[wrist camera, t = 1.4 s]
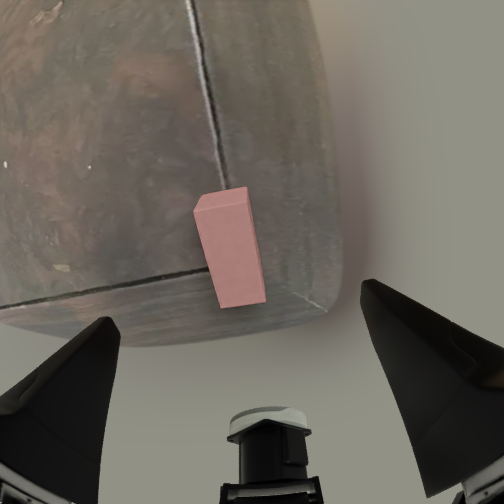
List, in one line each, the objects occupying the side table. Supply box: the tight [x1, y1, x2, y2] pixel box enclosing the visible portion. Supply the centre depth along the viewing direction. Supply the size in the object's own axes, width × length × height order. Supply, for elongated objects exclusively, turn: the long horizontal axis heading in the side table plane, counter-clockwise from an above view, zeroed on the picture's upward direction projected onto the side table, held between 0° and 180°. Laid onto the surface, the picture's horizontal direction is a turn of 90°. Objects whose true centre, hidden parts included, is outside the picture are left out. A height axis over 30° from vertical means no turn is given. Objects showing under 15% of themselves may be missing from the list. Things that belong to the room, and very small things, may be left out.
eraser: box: [193, 187, 266, 308], centre depth 13 cm, size 5×2×2 cm, turn 10°
